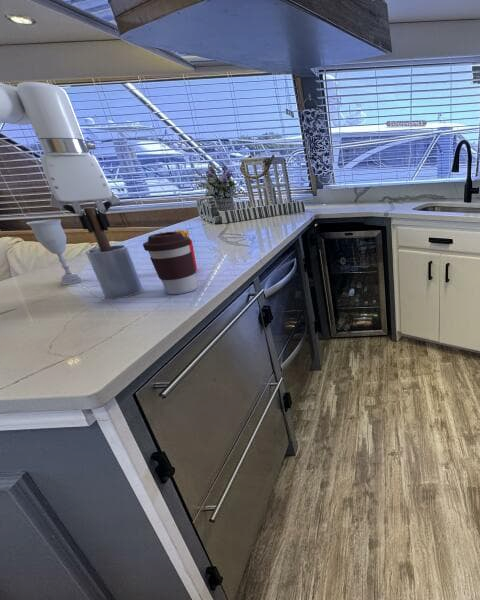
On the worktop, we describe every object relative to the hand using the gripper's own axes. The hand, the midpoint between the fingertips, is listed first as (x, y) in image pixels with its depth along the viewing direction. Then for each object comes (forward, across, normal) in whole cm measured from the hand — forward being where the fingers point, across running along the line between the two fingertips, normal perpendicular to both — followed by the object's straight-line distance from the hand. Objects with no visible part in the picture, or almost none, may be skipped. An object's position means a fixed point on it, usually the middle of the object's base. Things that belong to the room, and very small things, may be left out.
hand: (98, 230), depth 79 cm
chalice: (+17, +9, -26) cm, 32 cm away
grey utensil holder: (+17, 0, 0) cm, 17 cm away
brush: (+12, 0, 0) cm, 12 cm away
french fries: (+17, -16, -8) cm, 25 cm away
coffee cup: (+17, -11, +11) cm, 23 cm away
